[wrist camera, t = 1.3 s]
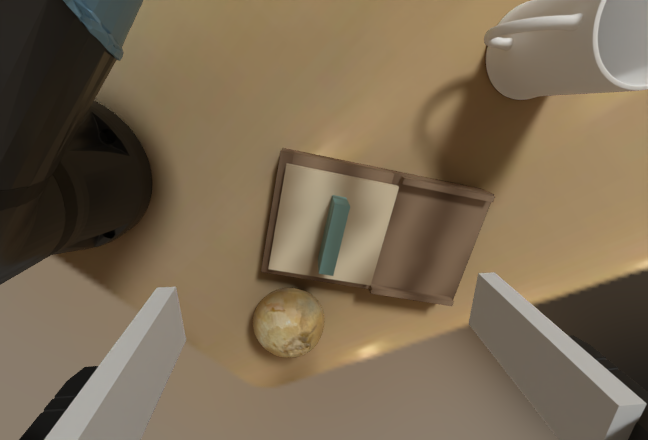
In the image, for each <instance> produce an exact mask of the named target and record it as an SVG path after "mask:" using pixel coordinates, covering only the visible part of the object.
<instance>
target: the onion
mask: <svg viewBox="0 0 648 440" xmlns="http://www.w3.org/2000/svg"><path fill="white" fill-rule="evenodd" d="M323 328H324V313H323V310H322V307H321V305H320V303H319V302H318V300H317V299H316V298H315V297H314V296H313V295H311V294H310V293H309V292H306V291H304V290H299V289H295V288H280V289H278V290H276V291H273V292H271V293H270V294H268V295H267V296H265V297H264V298H263V299H262V300H261V301H260V303H259V304H258V306H257V307H256V309H255V312H254V315H253V329H254V333H255V336H256V338H257V340H258V341H259V343H260V344H261V345H262V346H263V348H265V349H266V350H267V351H268V352H270V353H272V354H274V355H276V356H279V357H298V356H301V355H305V354H306V353H307V352H309V351H311V350H312V349H313V348H314V347H315V346H316V344H317V343H318V341H319V339H320V337H321V335H322V332H323Z"/></svg>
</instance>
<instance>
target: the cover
mask: <svg viewBox="0 0 648 440" xmlns="http://www.w3.org/2000/svg"><path fill="white" fill-rule="evenodd" d="M398 189H399V187H398V186H397V185H393V184H388V183H383V182H378V181H373V180H368V179H363V178H358V177H353V176H348V175H343V174H338V173H333V172H328V171H323V170H318V169H313V168H308V167H303V166H298V165H293V164H288V163H287V164H286V169H285V175H284V181H283V187H282V193H281V198H280V204H279V210H278V216H277V222H276V227H275V233H274V239H273V245H272V251H271V256H270V262H269V268H268V269H271V270H277V271H283V272H289V273H296V274H302V275H308V276H314V277H321V278H327V279H333V280H339V281H346V282H352V283H358V284H364V285H371V282H372V279H373V275H374V272H375V268H376V265H377V261H378V258H379V255H380V251H381V248H382V244H383V241H384V237H385V234H386V231H387V227H388V224H389V220H390V217H391V213H392V210H393V207H394V203H395V200H396V196H397V193H398Z"/></svg>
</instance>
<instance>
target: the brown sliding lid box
mask: <svg viewBox="0 0 648 440" xmlns="http://www.w3.org/2000/svg"><path fill="white" fill-rule="evenodd" d="M287 163H288V164H293V165H298V166H303V167H308V168H313V169H318V170H323V171H328V172H333V173H338V174H343V175H348V176H353V177H358V178H363V179H368V180H373V181H378V182H383V183H388V184H393V185H397V186H398V187H399V189H398V193H397V196H396V200H395V203H394V207H393V210H392V213H391V217H390V220H389V224H388V227H387V231H386V234H385V237H384V241H383V244H382V248H381V251H380V255H379V258H378V261H377V265H376V268H375V272H374V275H373V279H372V282H371V285H364V284H358V283H352V282H346V281H339V280H333V279H327V278H321V277H314V276H308V275H302V274H296V273H289V272H283V271H277V270H271V269H268V268H269V262H270V256H271V251H272V245H273V239H274V233H275V227H276V222H277V216H278V210H279V204H280V198H281V193H282V187H283V181H284V175H285V169H286V164H287ZM494 198H495V196H494V194H492V193H490V192H487V191H485V190H483V189H480V188H475V187H470V186H465V185H461V184H456V183H451V182H446V181H441V180H436V179H431V178H427V177H422V176H417V175H412V174H407V173H402V172H397V171H393V170H388V169H383V168H378V167H373V166H368V165H364V164H359V163H354V162H349V161H344V160H339V159H334V158H330V157H325V156H320V155H315V154H310V153H305V152H300V151H296V150H291V149H286V148H282V150H281V153H280V159H279V165H278V171H277V177H276V183H275V190H274V196H273V202H272V208H271V214H270V220H269V226H268V232H267V238H266V244H265V250H264V256H263V262H262V269H261V272H265V273H272V274H278V275H284V276H290V277H297V278H303V279H309V280H316V281H322V282H328V283H335V284H341V285H347V286H354V287H360V288H366V289H369V291H370V293H371V294H377V295H384V296H390V297H396V298H403V299H409V300H416V301H422V302H428V303H435V304H441V305H447V306H452V305H453V302H454V301H453V299H454V296H455V294H456V291H457V288H458V286H459V283H460V281H461V278H462V276H463V273H464V271H465V268H466V265H467V263H468V260H469V258H470V255H471V253H472V250H473V248H474V245H475V242H476V240H477V237H478V235H479V232H480V230H481V227H482V225H483V222H484V219H485V217H486V214H487V212H488V209H489V207H490V204H491V202H493V201H494Z"/></svg>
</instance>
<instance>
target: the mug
mask: <svg viewBox="0 0 648 440" xmlns="http://www.w3.org/2000/svg"><path fill="white" fill-rule="evenodd" d="M484 43H485V44H486V45H487V46H488V47H487V52H486V68H487V73H488V76H489V79H490V81H491V83H492V84H493V86H494V87H495V88H496V90H497V91H499V92H500V93H501V94H502V95H504V96H506V97H508V98H511V99H516V100H527V99H532V98H535V97H538V96H552V95H570V94H588V93H605V92H623V91H639V90H646V89H648V0H532V1H528V2H525V3H523V4H521V5H519V6H517V7H515V8H514V9H512V10H511V11H510V12H509V13H507V14H506V15H505V16H504V17H503V18H502V20H501V21H500V22H499V23H498V25H497V26H495V27H493V28H491V29H489V30H488V31H487V32H486V34H485V37H484Z"/></svg>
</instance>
